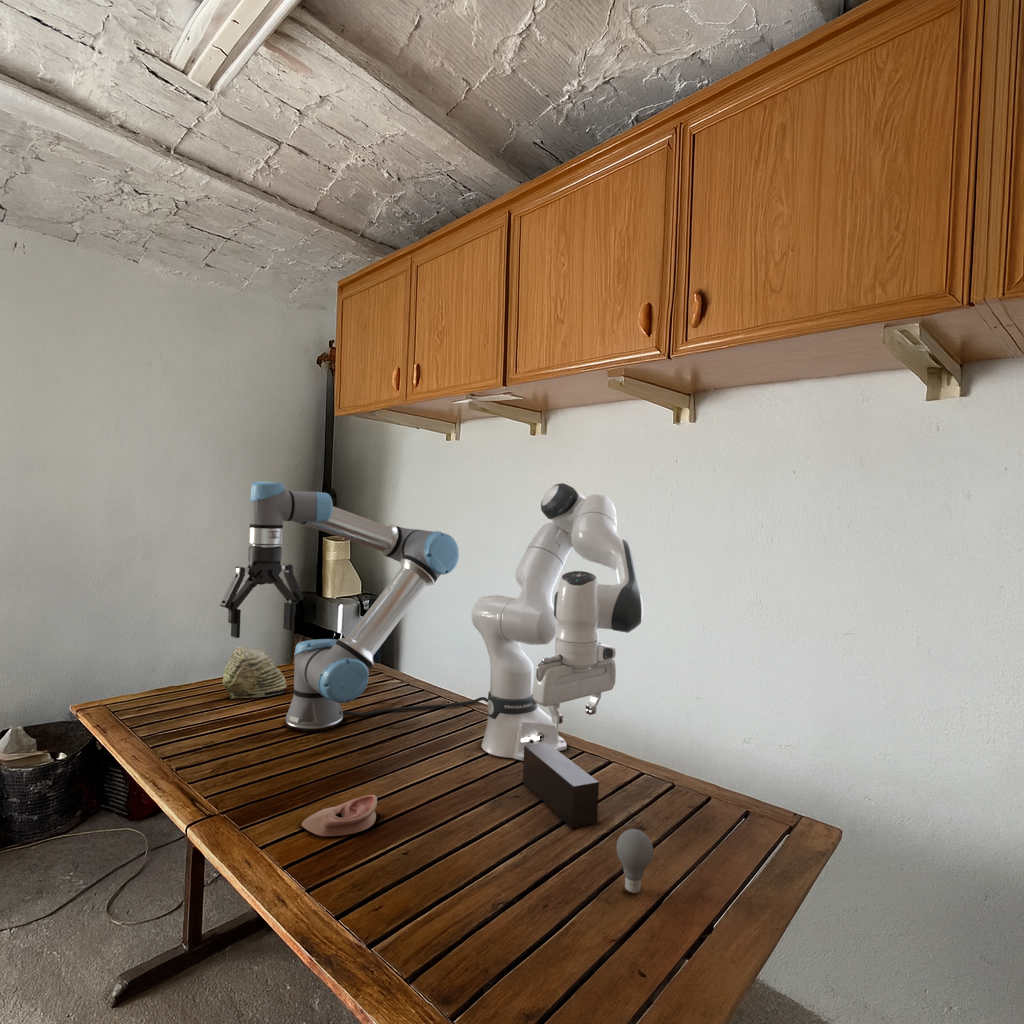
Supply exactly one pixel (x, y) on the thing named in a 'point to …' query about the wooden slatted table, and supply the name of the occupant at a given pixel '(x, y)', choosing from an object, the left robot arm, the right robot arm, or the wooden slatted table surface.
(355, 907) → the wooden slatted table surface
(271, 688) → the fossil
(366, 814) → the anatomical model
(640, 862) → the light bulb
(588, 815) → the box
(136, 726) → the wooden slatted table surface
